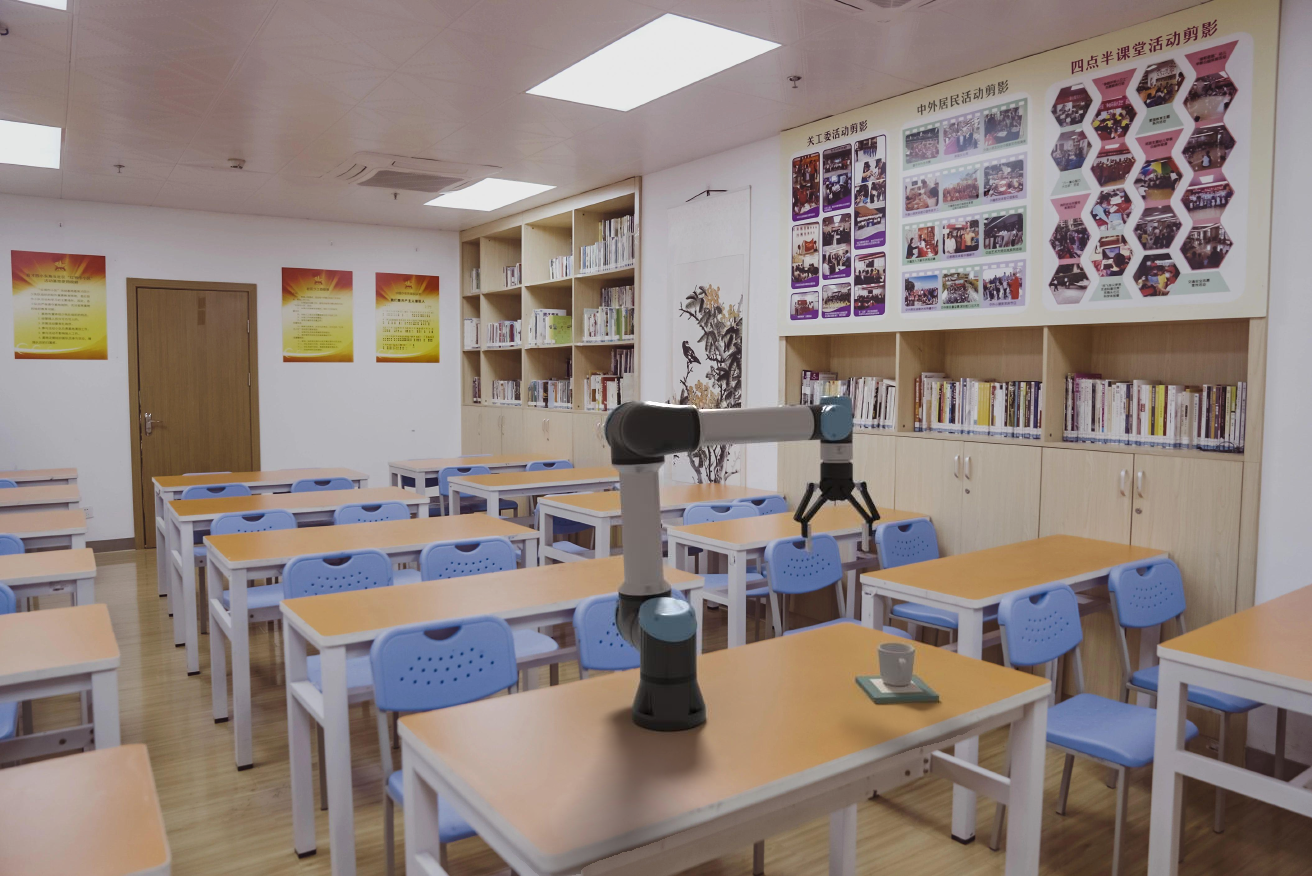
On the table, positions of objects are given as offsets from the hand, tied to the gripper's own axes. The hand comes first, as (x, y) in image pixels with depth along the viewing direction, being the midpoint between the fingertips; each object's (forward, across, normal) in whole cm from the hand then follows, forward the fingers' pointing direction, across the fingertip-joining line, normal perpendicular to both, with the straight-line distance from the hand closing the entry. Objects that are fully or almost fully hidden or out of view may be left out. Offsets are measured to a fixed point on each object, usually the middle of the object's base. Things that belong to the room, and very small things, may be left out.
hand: (836, 550), depth 202 cm
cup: (+28, +10, -15) cm, 33 cm away
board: (+29, +9, -15) cm, 34 cm away
